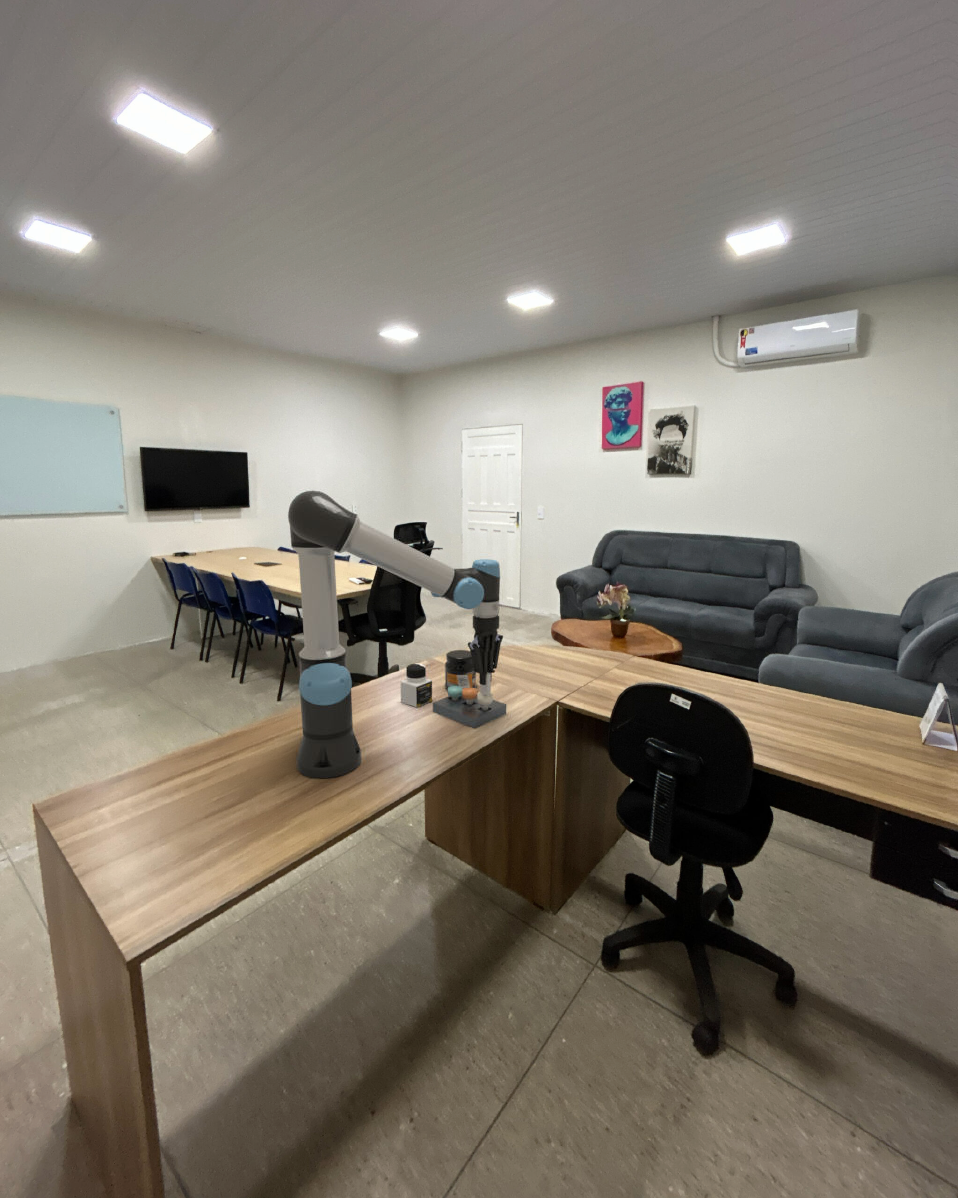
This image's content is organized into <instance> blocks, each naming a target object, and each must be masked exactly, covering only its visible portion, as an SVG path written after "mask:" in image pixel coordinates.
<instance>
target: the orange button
mask: <svg viewBox="0 0 958 1198" xmlns="http://www.w3.org/2000/svg"><path fill="white" fill-rule="evenodd" d="M477 694H478V689H477V688H476V687H475V688H471V687H468V688H464V689H462V697H463V698H464V699H466V705H467V706H472V705H473V699H475V698H477Z"/></svg>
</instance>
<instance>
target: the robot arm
mask: <svg viewBox="0 0 958 1198" xmlns="http://www.w3.org/2000/svg"><path fill="white" fill-rule="evenodd" d="M288 507H289V508H288V512H287V513H288V514H287V516H288V517H287V519H288V523H289V533H290V544H291V547H290V548H291V549H292V550H294V551H295V552H296V553H297V554H298V565H299V566H298V567H299V568H298V569H299V581H300V582H299V583H300V597H301V612H302V613H301V614H302V626H303V627H302V628H303V642H304V643H303V644H304V647H303V648H302V649H301V650H300V651H299V652H298V662H299V682H298V690H299V695H300V711H301V713H300V714H301V726H302V728H301V729H302V738H301V741H300V744H299V747H298V748H299V749H298V752H297V754H296V769H297V771H298V772H299V773H300V774H302V775H303V776H306V777H308V778H312V779H330V778H336V777H340V776H343V775H345V774H348V773H350V772H352V771H354V770H355V769H356V768H358V766H359V765H360V764H361V762H362V750H361V747H360V744H359V742H358V740H357V737H356V734H355V732H354V728H353V727H354V725H353V723H354V721H353V702H352V699H353V698H352V686H353V683H352V682H353V681H352V677H351V673H350V671H349V669H348V668H347V654H346V648H345V647H343V646H342V645H341V644H340V634H339V619H338V618H339V615H338V598H337V597H338V596H337V580H336V579H337V576H336V563H335V562H336V560H335V559H336V558H335V552H336V553H338V554H342V553H344V552H346V553H349V554H351V555H352V556H353V555H354V556H355V557H357V558H360V559H361V560H364V561H366V562H368V563H370V564H371V565H374V566H376V567H378V568H381V569H383V570H385V571H386V572H389V573H391V574H393V575H396V576H397V577H399V578H402V579H404V580H405V581H408V582H410V583H413V584H414V585H416V586H418V587H421V588H423V589H424V590H427V591H429V592H430V595H431V596H432V597H434V598H441V599H443V598H444V599H446V600H447V601H450V602H451V603H454V604H456V606H457V607H459V608H461V609H466V610H472V614H473V616H472V628H473V630H474V635H473V640H472V641H469V642H468V643H467V647H468V648H469V651H471V657H472V663H473V668H474V672H476V674H479V675H478V677H479V681H478V682H479V687H480V688H479V689H480V691H479V693H480V694H483V695H486V696H489V695H491V694H492V693H491V692H492V687H491V685H492V684H491V683H492V680H493V679H492V677H493V676H492V675H493V674H494V673H495V672H496V670H495V669H497V668H498V662H499V658H500V657H499V656H500V651H501V644H502V641H503V638H504V635H502V634H499V633H498V632H499V631H498V630H499V628H500V616H499V614H500V588H501V584H500V583H501V570H500V569H501V568H500V567H501V566H500V563H499V561H497V560H495V559H487V558H486V559H482V558H480V559H475V560H474V561H473V562H472V566H471V567H468V568H467V567H466V568H454V567H451V566H449V565H447V564H445V563H443V562H441V561H439V560H437V559H435V558H433V557H431V556H430V555H427V554H425V553H423V552H422V551H419V550H417V549H416V548H413V547H411V546H409V545H408V544H406V543H404V542H402V541H399V540H398V539H396V538H393V537H392V536H390V535H388V534H386V533H383V532H382V531H380V530H378V529H375V528H374V527H372V526H370V525H367V524H366V523H364V522H362V521H361V520H360V517H359V515H358V514H356V513H354V512H352V511H350V510H349V509H346V508H345V507H343V506H342V505H340V504H339V503H338V502H337V501H335V500H334V499H333V498H332V497H331V496H329V495H328V494H326V493H324V492H322V491H320V490H318V491H317V490H306V491H303V492H301V493H299V494H297V495H296V496H295V497H294V498H293V500H292V501H291V503H290V505H289V506H288Z"/></svg>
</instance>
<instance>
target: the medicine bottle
mask: <svg viewBox="0 0 958 1198" xmlns="http://www.w3.org/2000/svg"><path fill="white" fill-rule="evenodd" d="M405 673H406V678H405V679H402V680H400V703H402V704H406V705H407V706H412V707H414V708H419V707H422V706H423V705H426V704H428V703H430V702H432V701H433V680H432V679H431V678H430V679H429V678H427V666H426V665H425V664H422V663H417V662H416V663H411V664H408V665H407V666H406V670H405Z"/></svg>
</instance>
